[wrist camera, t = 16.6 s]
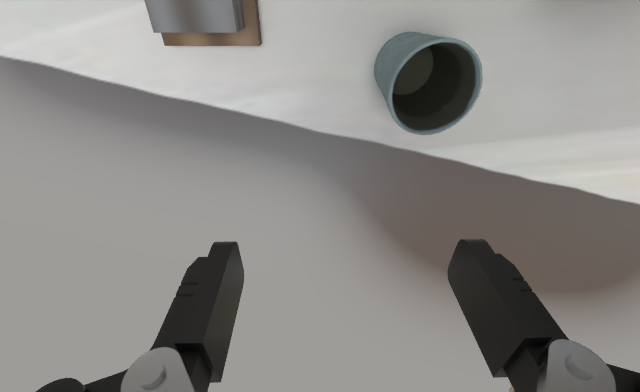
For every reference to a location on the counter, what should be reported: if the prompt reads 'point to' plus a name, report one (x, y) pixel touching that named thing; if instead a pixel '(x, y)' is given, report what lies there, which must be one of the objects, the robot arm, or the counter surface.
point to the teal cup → (428, 81)
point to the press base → (222, 37)
